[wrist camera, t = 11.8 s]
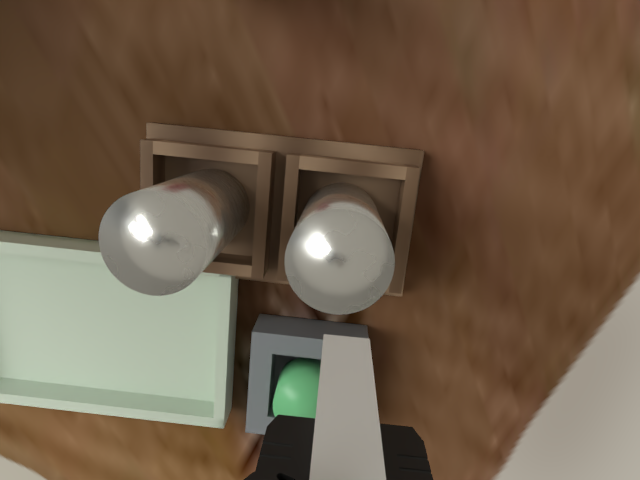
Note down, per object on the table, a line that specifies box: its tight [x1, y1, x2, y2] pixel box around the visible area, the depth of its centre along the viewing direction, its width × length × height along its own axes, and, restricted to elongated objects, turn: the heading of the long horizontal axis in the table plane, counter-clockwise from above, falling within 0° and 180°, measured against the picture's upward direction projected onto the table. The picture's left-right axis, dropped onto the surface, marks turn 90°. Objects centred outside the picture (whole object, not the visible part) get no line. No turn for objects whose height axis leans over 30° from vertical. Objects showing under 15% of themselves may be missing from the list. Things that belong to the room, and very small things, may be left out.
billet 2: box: [285, 183, 395, 315], centre depth 25 cm, size 5×5×10 cm
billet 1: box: [99, 168, 249, 296], centre depth 25 cm, size 5×5×10 cm
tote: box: [0, 230, 239, 429], centre depth 33 cm, size 21×13×2 cm, turn 84°
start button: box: [273, 357, 321, 418], centre depth 31 cm, size 4×4×3 cm
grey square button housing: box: [245, 314, 369, 434], centre depth 33 cm, size 8×8×3 cm
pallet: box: [140, 123, 424, 297], centre depth 30 cm, size 18×10×3 cm, turn 84°
